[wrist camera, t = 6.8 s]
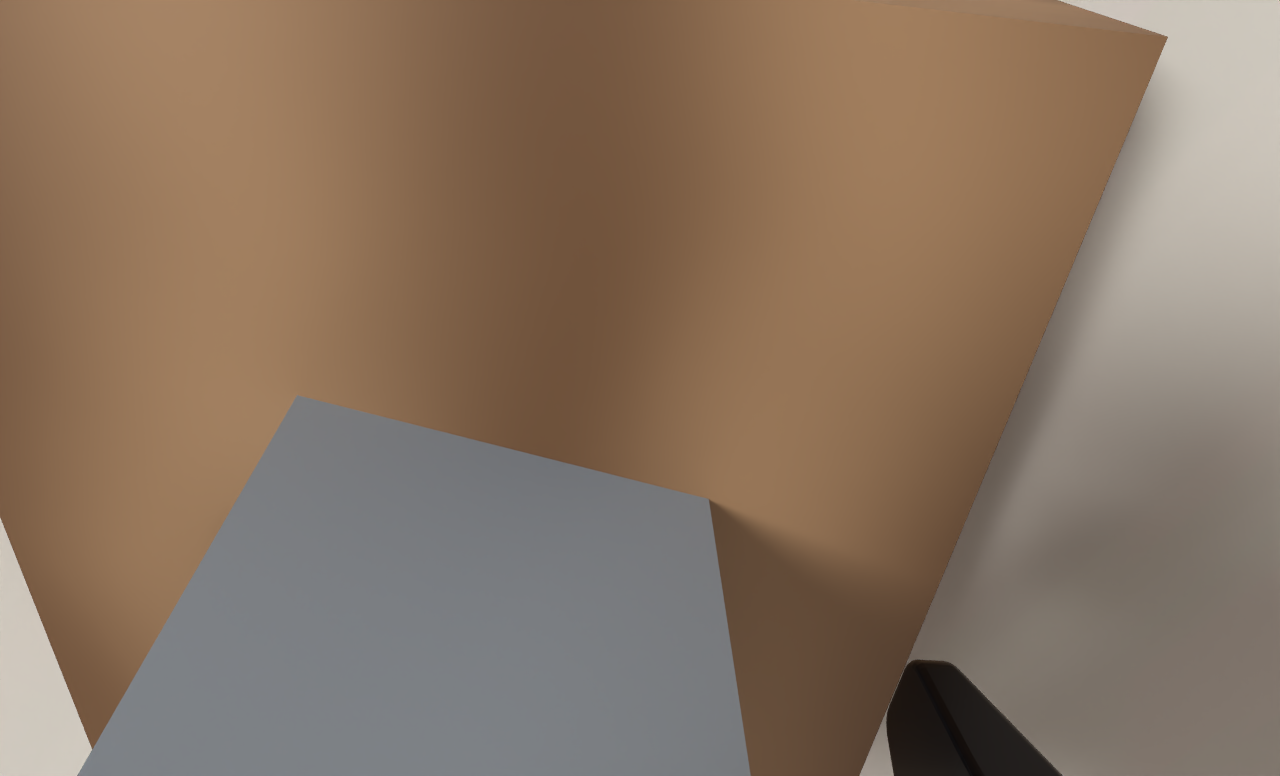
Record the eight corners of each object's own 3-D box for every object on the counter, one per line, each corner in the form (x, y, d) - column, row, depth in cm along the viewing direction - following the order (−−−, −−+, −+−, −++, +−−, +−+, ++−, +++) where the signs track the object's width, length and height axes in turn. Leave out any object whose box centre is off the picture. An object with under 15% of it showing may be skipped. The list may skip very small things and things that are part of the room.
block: (254, 673, 12) (60, 1121, 8) (297, 395, 9) (43, 832, 5) (589, 736, 13) (579, 1162, 9) (708, 499, 10) (775, 936, 6)
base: (171, 643, 15) (100, 770, 13) (-48, -134, 9) (-257, -129, 7) (818, 674, 16) (849, 797, 14) (1048, -3, 10) (1168, 37, 8)
